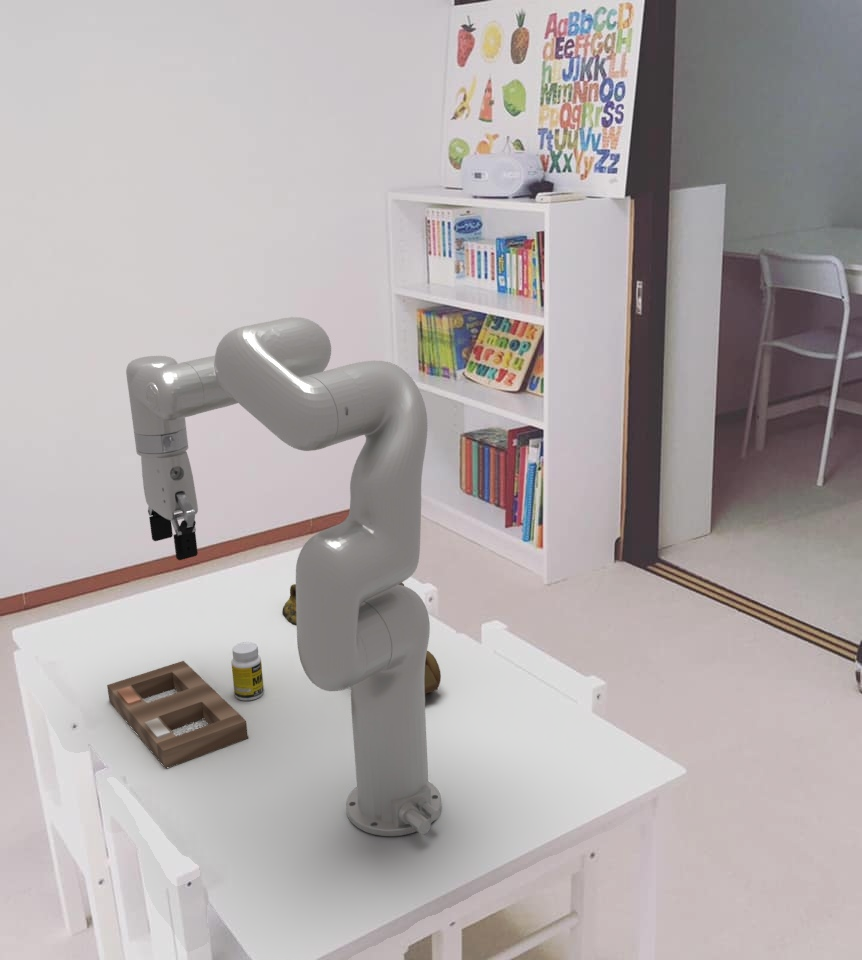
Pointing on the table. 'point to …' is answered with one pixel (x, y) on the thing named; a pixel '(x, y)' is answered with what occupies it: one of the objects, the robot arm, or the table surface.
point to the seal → (291, 606)
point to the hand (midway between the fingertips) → (174, 547)
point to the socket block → (177, 713)
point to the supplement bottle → (247, 671)
